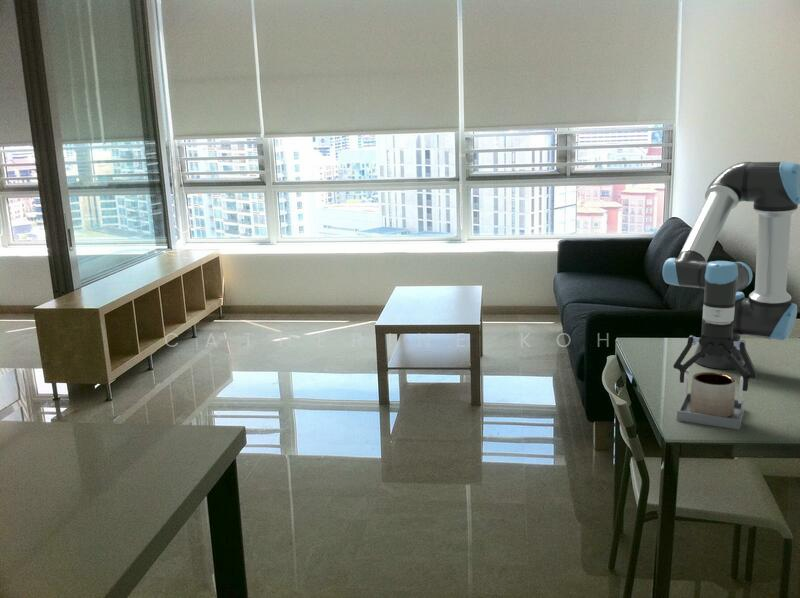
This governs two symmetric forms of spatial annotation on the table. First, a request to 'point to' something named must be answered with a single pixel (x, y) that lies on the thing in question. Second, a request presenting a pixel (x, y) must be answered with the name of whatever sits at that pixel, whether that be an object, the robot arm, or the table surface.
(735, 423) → the tray
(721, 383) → the planter
